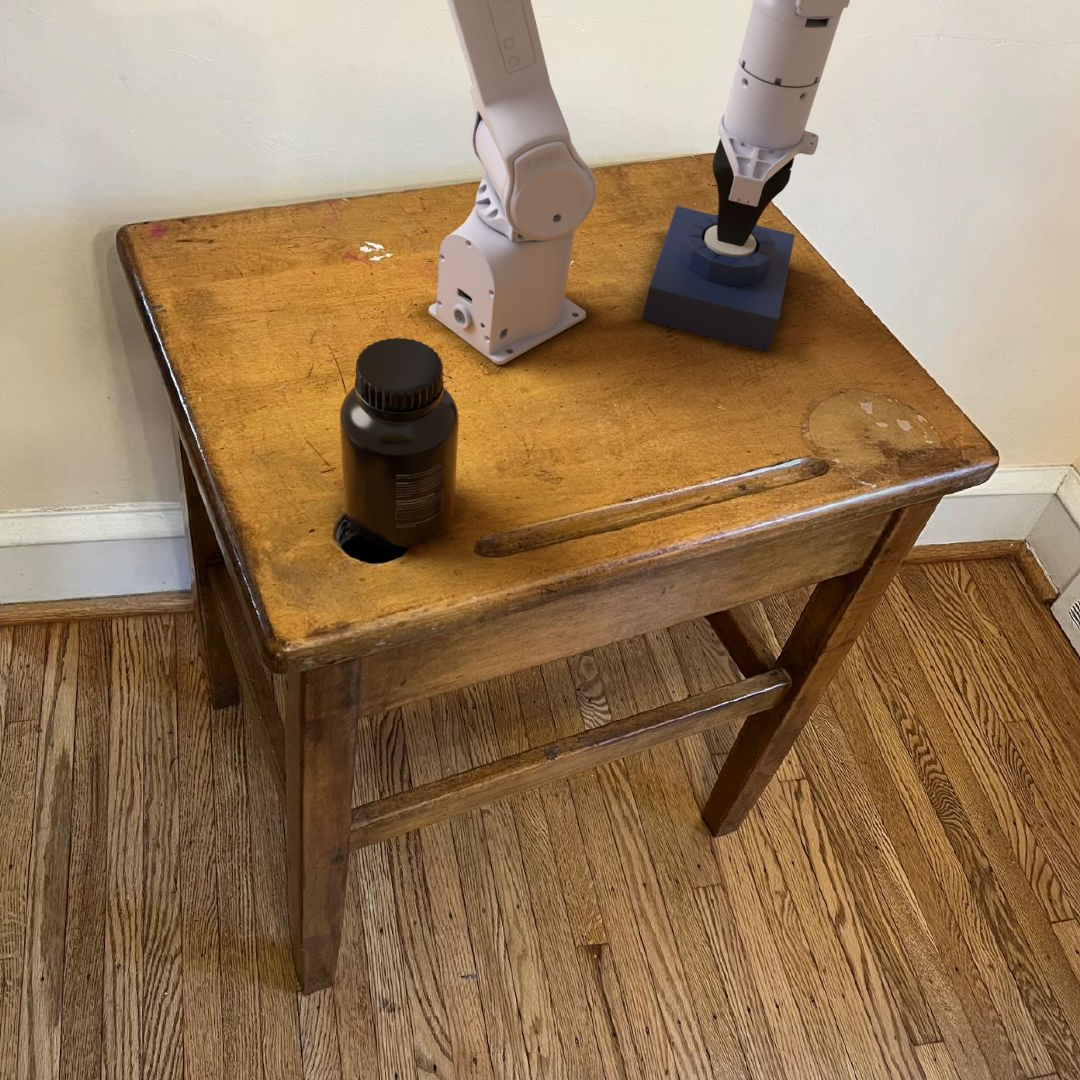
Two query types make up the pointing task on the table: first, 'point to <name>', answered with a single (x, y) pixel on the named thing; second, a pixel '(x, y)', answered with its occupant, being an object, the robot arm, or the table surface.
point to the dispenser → (719, 283)
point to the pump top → (729, 245)
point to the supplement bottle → (399, 445)
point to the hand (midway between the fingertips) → (731, 239)
